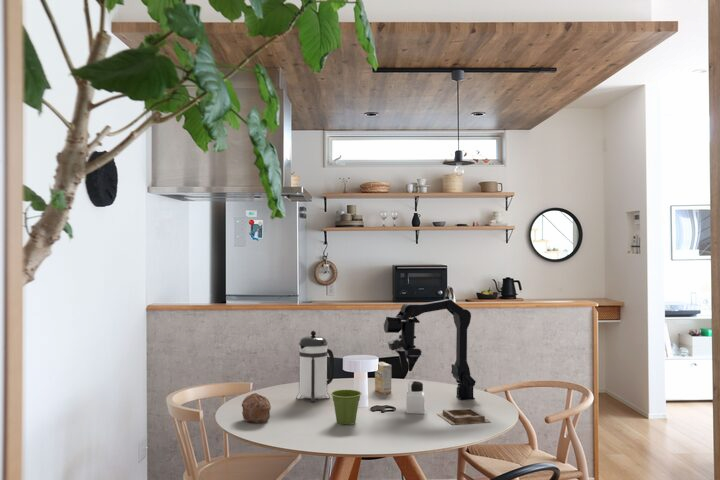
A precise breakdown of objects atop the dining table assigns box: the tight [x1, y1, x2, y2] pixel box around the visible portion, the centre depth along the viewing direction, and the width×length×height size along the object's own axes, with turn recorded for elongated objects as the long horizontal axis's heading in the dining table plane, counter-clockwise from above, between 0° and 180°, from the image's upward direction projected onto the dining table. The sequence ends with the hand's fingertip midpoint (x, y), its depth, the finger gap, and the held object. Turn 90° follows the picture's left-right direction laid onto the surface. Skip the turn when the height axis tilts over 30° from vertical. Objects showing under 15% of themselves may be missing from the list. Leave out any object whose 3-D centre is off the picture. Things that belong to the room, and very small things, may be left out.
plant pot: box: [330, 389, 363, 425], centre depth 241 cm, size 12×12×11 cm
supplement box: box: [374, 361, 392, 395], centre depth 293 cm, size 8×5×13 cm, turn 25°
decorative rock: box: [241, 392, 272, 424], centre depth 244 cm, size 13×11×10 cm
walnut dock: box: [436, 408, 492, 426], centre depth 247 cm, size 16×16×3 cm
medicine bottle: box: [405, 380, 425, 415], centre depth 257 cm, size 7×7×12 cm
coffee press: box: [295, 330, 335, 404], centre depth 280 cm, size 17×16×30 cm
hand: (406, 369), depth 272 cm, fingers open, 9 cm apart
